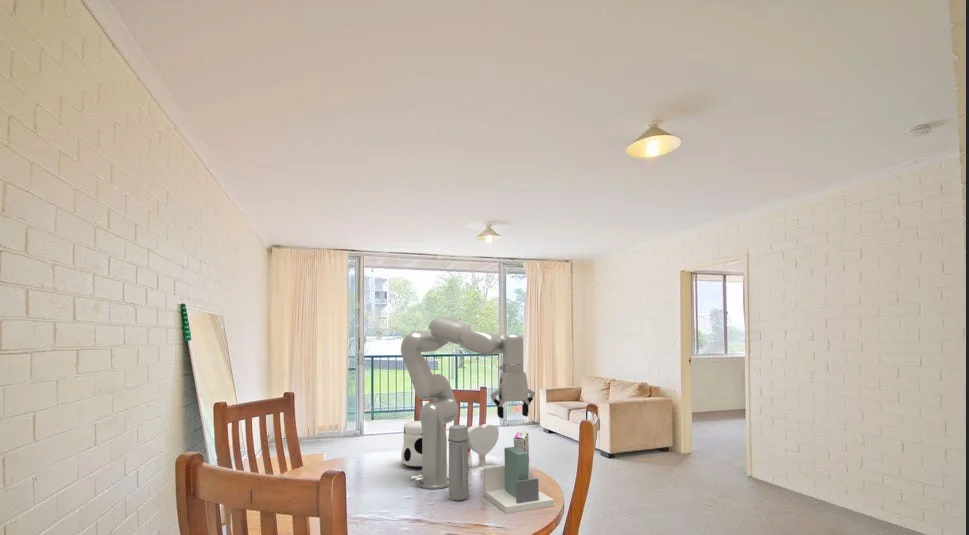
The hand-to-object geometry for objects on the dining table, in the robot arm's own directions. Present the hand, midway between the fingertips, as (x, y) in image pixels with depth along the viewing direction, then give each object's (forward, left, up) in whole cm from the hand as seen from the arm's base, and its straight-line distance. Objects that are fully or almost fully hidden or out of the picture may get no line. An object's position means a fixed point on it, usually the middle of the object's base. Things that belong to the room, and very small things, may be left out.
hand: (513, 416), depth 191 cm
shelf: (0, -2, -29) cm, 29 cm away
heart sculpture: (+5, +42, -29) cm, 51 cm away
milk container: (-18, +57, -29) cm, 66 cm away
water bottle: (-18, +8, -29) cm, 35 cm away
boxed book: (0, -1, -27) cm, 27 cm away
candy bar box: (+15, +24, -29) cm, 41 cm away
